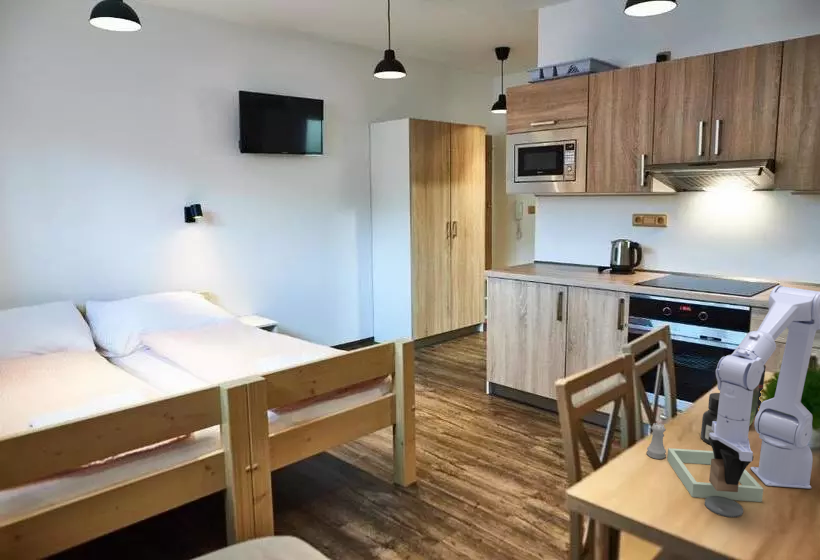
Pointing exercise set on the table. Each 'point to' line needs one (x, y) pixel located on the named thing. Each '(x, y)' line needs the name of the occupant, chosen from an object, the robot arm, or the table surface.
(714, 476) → the block
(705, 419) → the ink bottle
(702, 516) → the table surface
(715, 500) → the coaster
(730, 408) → the robot arm
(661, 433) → the rook chess piece
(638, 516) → the table surface
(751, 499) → the green rectangular frame
